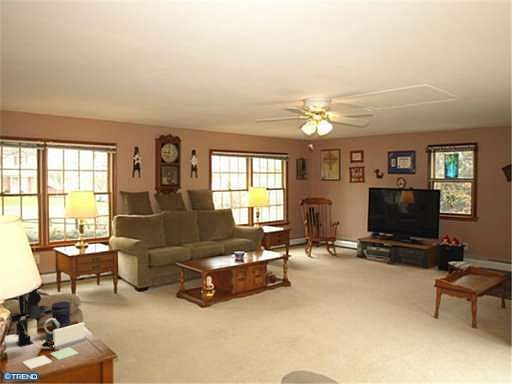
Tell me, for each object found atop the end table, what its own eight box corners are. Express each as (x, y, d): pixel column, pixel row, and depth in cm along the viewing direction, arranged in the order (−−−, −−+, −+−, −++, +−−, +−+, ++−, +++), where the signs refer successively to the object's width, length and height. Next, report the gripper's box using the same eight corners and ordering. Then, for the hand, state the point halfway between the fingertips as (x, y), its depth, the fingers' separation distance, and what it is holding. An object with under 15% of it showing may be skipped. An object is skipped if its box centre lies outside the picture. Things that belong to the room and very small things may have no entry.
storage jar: (66, 325, 251) (66, 300, 250) (73, 329, 244) (73, 304, 243) (49, 329, 244) (48, 304, 243) (55, 334, 237) (55, 308, 236)
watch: (61, 337, 232) (60, 318, 231) (45, 341, 226) (45, 321, 226) (57, 334, 236) (57, 315, 235) (42, 338, 230) (42, 319, 230)
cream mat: (22, 362, 201) (22, 361, 201) (43, 355, 209) (43, 355, 209) (30, 369, 195) (30, 368, 195) (52, 362, 202) (52, 361, 202)
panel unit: (46, 343, 224) (45, 325, 224) (75, 334, 236) (75, 318, 236) (55, 349, 216) (55, 331, 216) (85, 340, 228) (85, 323, 228)
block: (24, 333, 210) (24, 319, 209) (33, 331, 212) (32, 317, 212) (28, 336, 206) (28, 322, 206) (36, 333, 209) (36, 320, 209)
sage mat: (50, 354, 211) (50, 353, 211) (69, 348, 219) (69, 347, 218) (58, 360, 204) (58, 359, 204) (78, 353, 212) (78, 352, 212)
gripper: (15, 307, 196) (16, 340, 197) (56, 299, 210) (56, 329, 211) (7, 302, 204) (7, 334, 204) (47, 294, 218) (47, 324, 218)
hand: (30, 330), depth 209 cm, fingers closed on block, 4 cm apart
